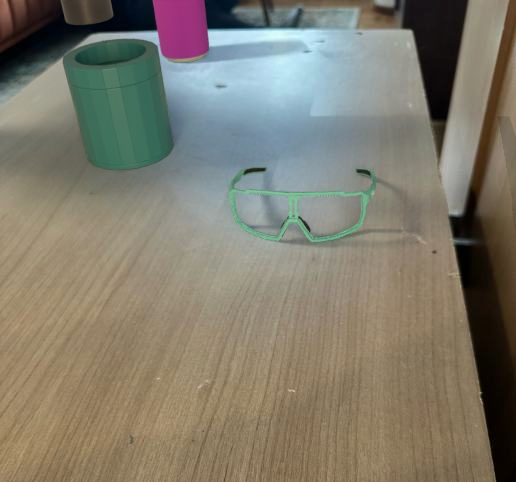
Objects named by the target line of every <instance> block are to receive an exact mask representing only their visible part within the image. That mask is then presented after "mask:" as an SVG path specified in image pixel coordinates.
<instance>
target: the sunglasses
mask: <svg viewBox="0 0 516 482" xmlns="http://www.w3.org/2000/svg"><path fill="white" fill-rule="evenodd" d="M267 171H268V167H267V166H248V167H244V168H242V169H240V170H239V171H238V172H237V173H236V174H235V175H234V176H233V178H232V179H231V180H230V181H229V184H228V200H229V203H230V208H231V209H230V210H231V213H232V216H233V218H234V220H235V223H236V224H237V225H238V226H239V227H240V228H241V229H242V230H244V231H245V232H247V233H249V234H250V235H252V236H256V237H258V238H261V239H264V240H267V241H268V240H269V241H274V242H276V241H277V242H278V241H280V240H281V239H282V238H283V237H284V235H285V233H286V231H287V228H288V227H289V225H290V224H297V225H298V227H299V228H300V230H301V231H302V233H303V234H304V236H305V237H306V239H308V241H309V242H311V243H321V242H327V241H332V240H337V239H339V238H343V237H346V236H348V235H350V234H353V233H354V232H356V231H357V230H359V229H360V228H362V226H363V223H364V222H365V221H364V220H365V218H366V214H367V205H368V203H370V201H371V200H372V199H373V198H374V197H375V194H376V191H377V177H376V174H375V172H374V171H373V170H372V169H370V168H366V167H357V168H355V173H356V174H357V175H362V176H367V177H369V178H370V179H371V181H372V183H371V185H370V187H368V188H367V189H366V190H365V191H363V190H358V191H357V190H356V191H349V192H344V191H342V190H329V191H325V190H324V191H285V190H283V191H282V190H266V189H256V188H248V189H246V190H245V189H239V188H235V185H236V184H237V183H239V182H240V180H242V178H243V177H246V176H248V175H251V174H263V173H267ZM236 194H242V195H250V194H252V195H260V196H273V197H275V196H276V197H286V198H287V200H288V208H289V209H288V216H287V217H286V219H285V220H284V221H283V222H282V223H281V226H280V230H279V232H278V234H277V235H272V234H267V233H264V232H261V231H260V232H259V231H258V230H255V229H254V228H252V227H250V226H248V225H247V224H246V223H245V222H243V221H242V220H241V219H240V217H239V214H238V211H237V210H238V209H237V205H236ZM339 195H340V196H341V197H354V196H360V208H361V209H360V216H359V220H358V222H357V223H356V224H354V225H353V226H351V227H349V228H347V229H345V230H343V231H340V232H337V233H334V234H329V235H324V236H313V235H312V234H311V227H310V226H309V223H308V222H307V221H306V220H305V219H303V217H301V216H300V215H299V199H300V198H301V197H338V196H339ZM293 201H294V215H293Z"/></svg>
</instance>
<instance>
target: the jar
mask: <svg viewBox="0 0 516 482" xmlns="http://www.w3.org/2000/svg"><path fill="white" fill-rule="evenodd" d="M61 63H62V65H63V70H64V73H65V77H66V80H67V81H66V82H67V85H68V89H69V94H70V97H71V100H72V106H73V109H74V112H75V116H76V120H77V124H78V129H79V132H80V136H81V140H82V144H83V147H84V151H85V154H86V157H87V160H88V162H89V163H90V164H92V165H93V166H96V167H98V168H100V169H105V170H110V171H111V170H112V171H113V170H114V171H121V170H122V171H124V170H134V169H138V168H143V167H147V166H150V165H153V164H155V163H158V162H159V161H161V160H163V159H165V158H166V157H168V156H169V155H170V154H171V152H172V151H173V149H174V141H173V133H172V126H171V120H170V113H169V107H168V100H167V95H166V89H165V83H164V76H163V70H162V63H161V57H160V50H159V45H158V44H156V43H154V41H150V40H147V39H143V38H141V39H140V38H114V39H106V40H100V41H95V42H91V43H87V44H85V45H84V44H83V45H81V46H78V47H76V48H73V49H72V50H70V51H68V52H67V53H66V54H65V55H63V57H62V62H61Z"/></svg>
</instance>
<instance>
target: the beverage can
mask: <svg viewBox="0 0 516 482" xmlns="http://www.w3.org/2000/svg"><path fill="white" fill-rule="evenodd" d="M152 4H153V11H154V16H155V23H156V30H157V35H158V42H159V49H160V52H161V56H163V57H164V58H165V59H166V60H167V61H169V62H172V63H182V64H183V63H190V62H196V61H198V60H202V59H203V58H205V56H206V55H207V53H209V51H210V41H209V32H208V30H209V29H208V22H207V12H206V4H205V0H152Z"/></svg>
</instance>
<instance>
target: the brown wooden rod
mask: <svg viewBox="0 0 516 482" xmlns="http://www.w3.org/2000/svg"><path fill="white" fill-rule="evenodd" d="M60 3H61V7H62V12H63V15H64V21H65V23H67V24H69V25H75V26H88V25H94V24H98V23H102V22H106V21H109V20H111V19H112V18H113V17H114V11H113V5H112V1H111V0H60Z"/></svg>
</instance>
